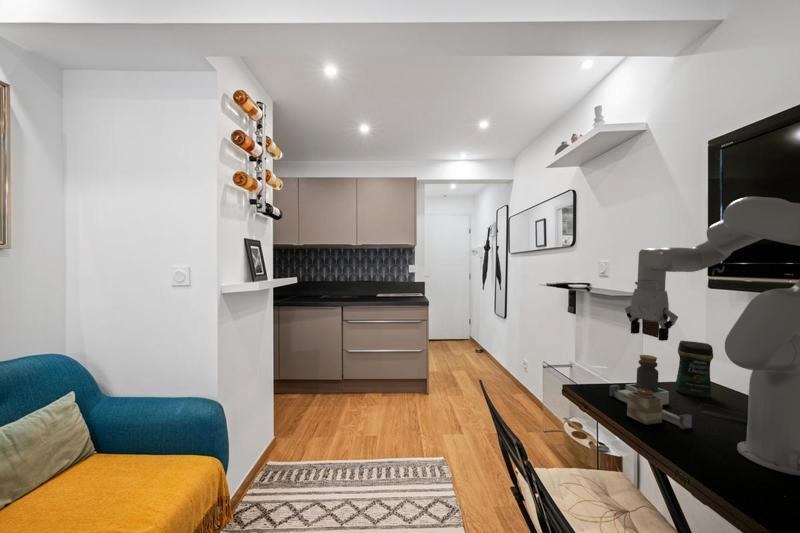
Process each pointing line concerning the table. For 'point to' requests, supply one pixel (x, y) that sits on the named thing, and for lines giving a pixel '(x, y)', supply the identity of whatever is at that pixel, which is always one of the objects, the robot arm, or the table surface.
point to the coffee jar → (694, 369)
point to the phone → (723, 413)
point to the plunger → (645, 393)
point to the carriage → (632, 388)
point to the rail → (681, 421)
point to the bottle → (647, 373)
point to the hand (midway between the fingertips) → (648, 336)
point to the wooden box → (644, 408)
